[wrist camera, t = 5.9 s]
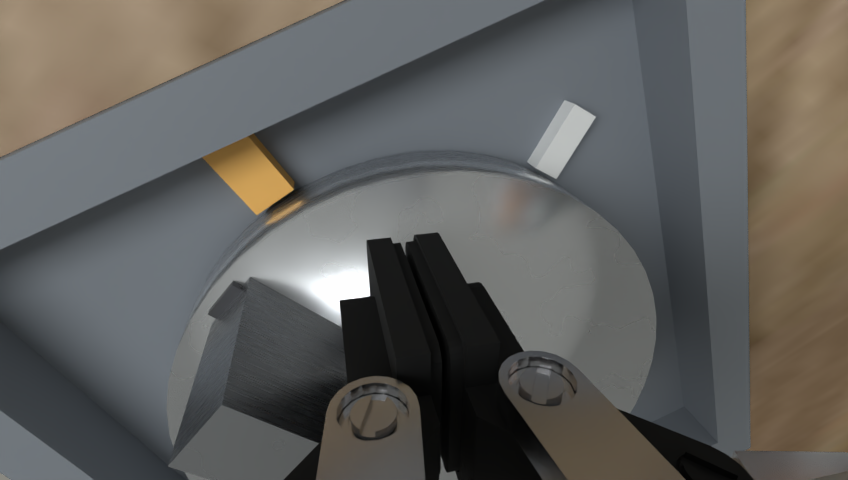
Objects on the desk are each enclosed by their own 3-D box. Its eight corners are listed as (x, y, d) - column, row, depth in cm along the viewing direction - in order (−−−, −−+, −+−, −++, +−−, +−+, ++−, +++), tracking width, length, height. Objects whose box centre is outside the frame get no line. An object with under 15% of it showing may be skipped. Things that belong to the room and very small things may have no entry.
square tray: (699, 396, 23) (750, 448, 20) (294, 587, 22) (292, 664, 20) (646, -138, 12) (743, -179, 9) (-146, 224, 11) (-281, 288, 9)
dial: (689, 312, 18) (847, 440, 13) (432, 539, 21) (473, 717, 16) (403, 26, 11) (488, 45, 6) (86, 425, 14) (-46, 672, 9)
